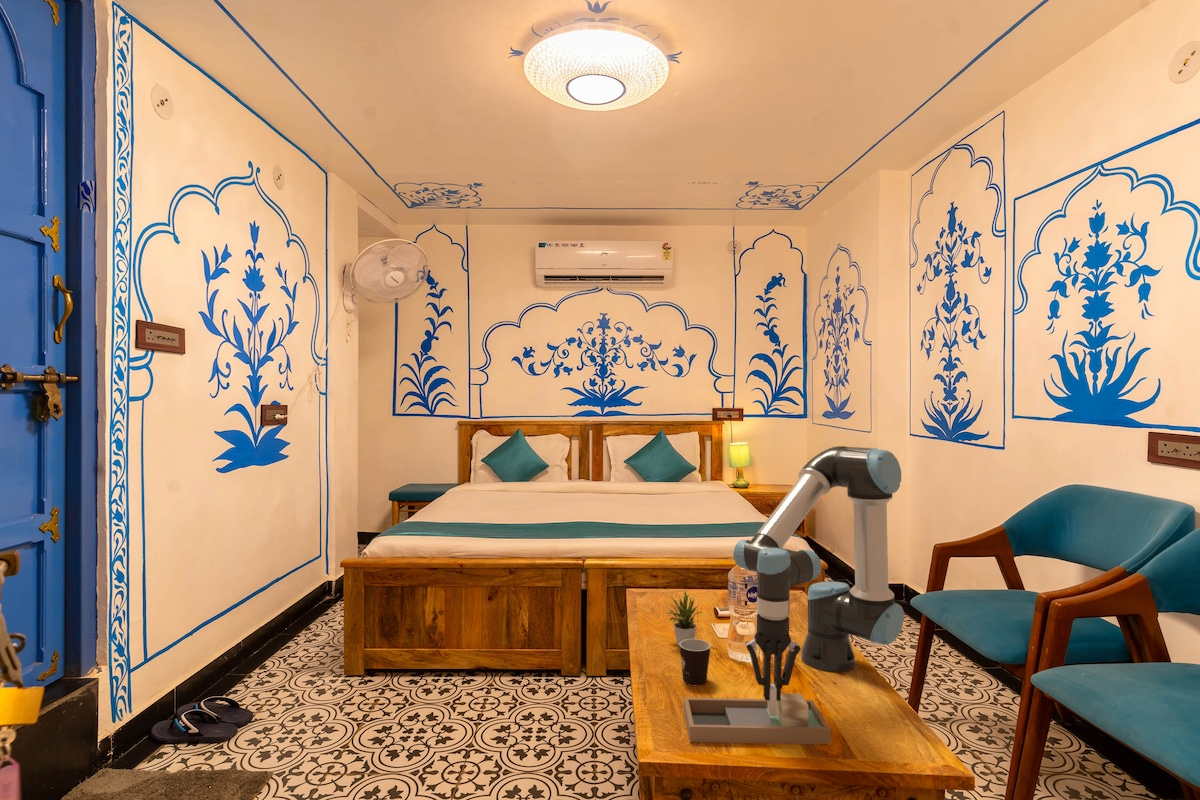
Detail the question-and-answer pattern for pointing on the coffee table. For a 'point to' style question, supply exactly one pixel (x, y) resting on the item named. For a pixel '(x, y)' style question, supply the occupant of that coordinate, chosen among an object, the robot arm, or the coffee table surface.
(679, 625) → the house plant
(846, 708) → the coffee table surface
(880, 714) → the coffee table surface
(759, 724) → the track
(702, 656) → the coffee mug
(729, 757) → the coffee table surface
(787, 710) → the ash block
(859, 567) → the robot arm
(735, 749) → the coffee table surface
